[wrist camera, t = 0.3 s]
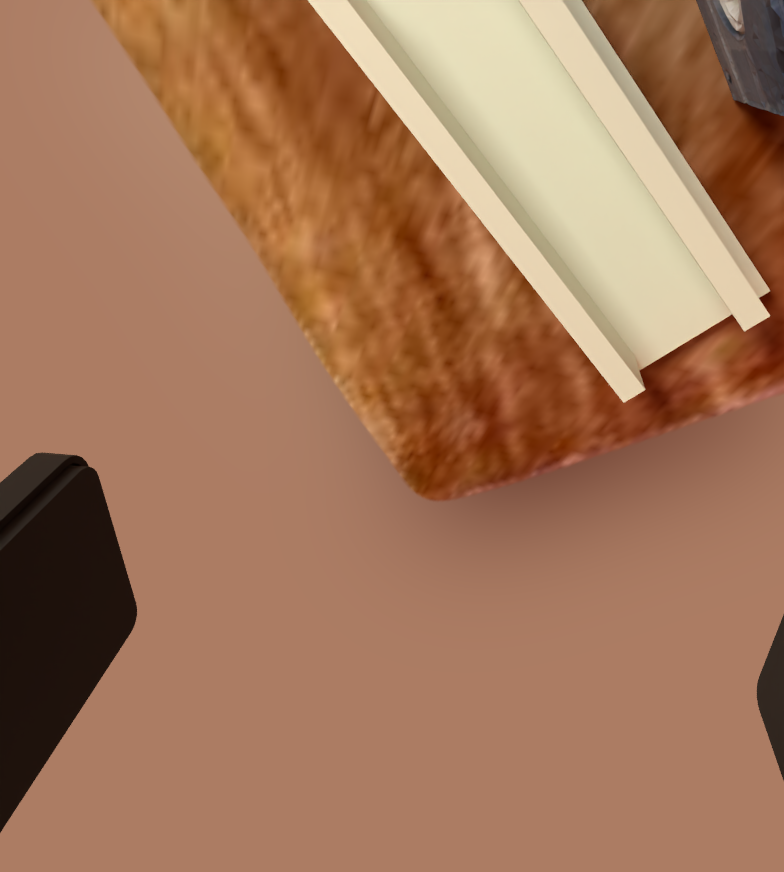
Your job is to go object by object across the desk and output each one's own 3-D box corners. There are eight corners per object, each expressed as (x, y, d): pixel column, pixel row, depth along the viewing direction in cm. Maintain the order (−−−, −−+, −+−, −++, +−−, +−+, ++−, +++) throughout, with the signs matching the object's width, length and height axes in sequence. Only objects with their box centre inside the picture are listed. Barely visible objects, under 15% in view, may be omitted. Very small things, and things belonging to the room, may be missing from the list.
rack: (458, -188, 27) (445, -227, 23) (765, 285, 34) (799, 322, 30) (306, -7, 31) (272, -12, 27) (610, 380, 38) (620, 424, 34)
